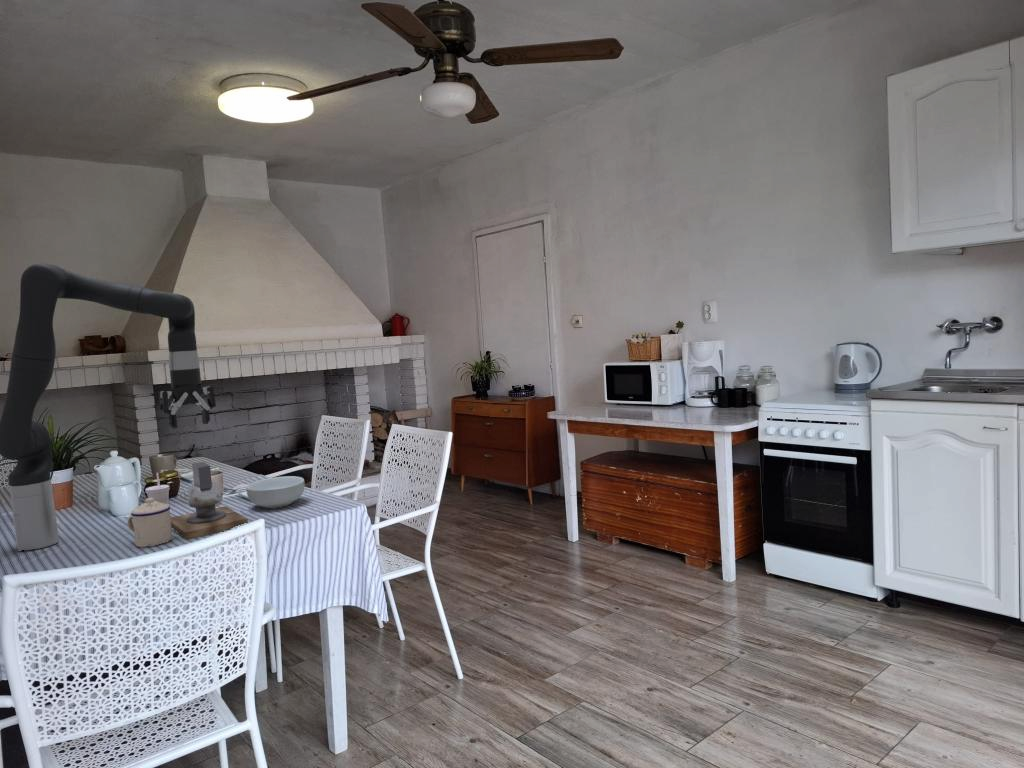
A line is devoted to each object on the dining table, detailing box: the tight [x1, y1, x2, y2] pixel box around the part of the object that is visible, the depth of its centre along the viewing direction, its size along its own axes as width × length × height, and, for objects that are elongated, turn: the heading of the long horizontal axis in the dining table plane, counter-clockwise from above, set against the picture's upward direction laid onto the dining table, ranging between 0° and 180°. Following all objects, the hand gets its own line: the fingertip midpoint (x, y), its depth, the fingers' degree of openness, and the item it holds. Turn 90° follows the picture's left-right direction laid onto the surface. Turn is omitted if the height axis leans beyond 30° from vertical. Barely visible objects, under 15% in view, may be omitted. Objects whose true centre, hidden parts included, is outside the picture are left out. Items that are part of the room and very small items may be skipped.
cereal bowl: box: [245, 475, 306, 509], centre depth 212 cm, size 17×17×7 cm
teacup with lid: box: [126, 497, 173, 548], centre depth 181 cm, size 12×9×12 cm
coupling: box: [186, 461, 222, 508], centre depth 193 cm, size 10×8×11 cm
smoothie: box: [145, 472, 171, 505], centre depth 203 cm, size 6×6×14 cm
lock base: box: [170, 504, 249, 540], centre depth 194 cm, size 16×20×6 cm
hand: (190, 426), depth 192 cm, fingers open, 8 cm apart
